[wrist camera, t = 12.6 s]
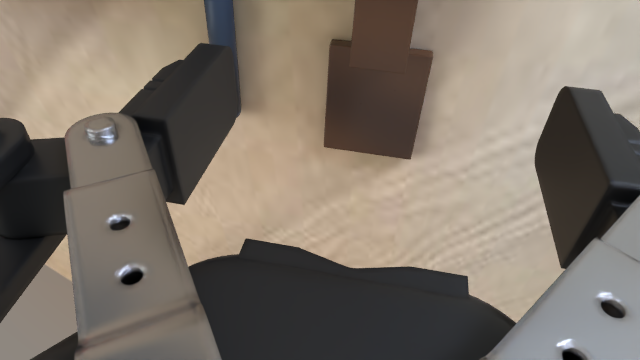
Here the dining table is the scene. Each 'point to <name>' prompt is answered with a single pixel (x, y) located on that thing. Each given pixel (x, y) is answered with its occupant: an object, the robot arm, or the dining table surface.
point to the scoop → (223, 31)
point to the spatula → (377, 82)
